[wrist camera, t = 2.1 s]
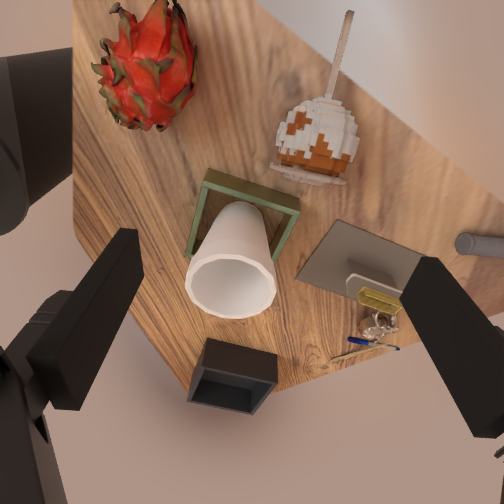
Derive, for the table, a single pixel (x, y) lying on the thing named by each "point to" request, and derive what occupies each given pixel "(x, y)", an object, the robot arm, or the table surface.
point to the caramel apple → (319, 133)
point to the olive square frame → (251, 194)
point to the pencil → (480, 245)
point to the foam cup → (233, 265)
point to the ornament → (378, 326)
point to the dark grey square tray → (233, 377)
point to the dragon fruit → (148, 67)
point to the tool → (356, 353)
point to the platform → (361, 267)
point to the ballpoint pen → (370, 343)
